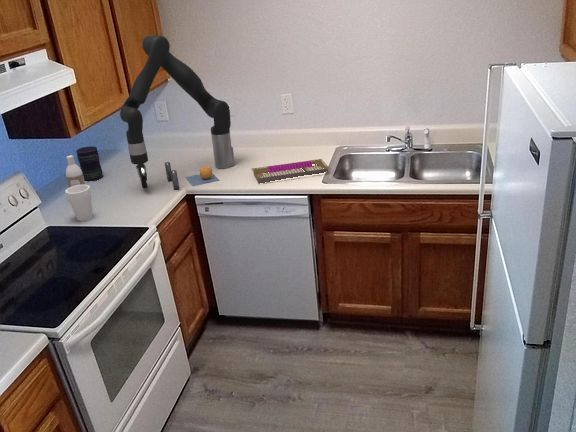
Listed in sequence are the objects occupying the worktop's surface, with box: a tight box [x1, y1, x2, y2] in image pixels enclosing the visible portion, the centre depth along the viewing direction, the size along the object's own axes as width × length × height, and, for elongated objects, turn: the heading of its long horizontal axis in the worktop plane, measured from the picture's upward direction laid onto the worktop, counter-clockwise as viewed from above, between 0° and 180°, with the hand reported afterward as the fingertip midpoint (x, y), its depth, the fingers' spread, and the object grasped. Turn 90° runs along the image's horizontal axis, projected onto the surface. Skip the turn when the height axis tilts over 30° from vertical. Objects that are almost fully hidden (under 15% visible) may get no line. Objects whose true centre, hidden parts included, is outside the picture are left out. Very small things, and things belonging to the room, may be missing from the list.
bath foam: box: [65, 154, 86, 188], centre depth 234 cm, size 7×7×20 cm
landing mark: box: [185, 172, 220, 187], centre depth 250 cm, size 13×13×1 cm
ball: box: [198, 166, 213, 179], centre depth 249 cm, size 6×6×6 cm
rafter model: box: [251, 158, 331, 185], centre depth 247 cm, size 35×14×6 cm, turn 103°
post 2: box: [171, 169, 180, 191], centre depth 238 cm, size 3×3×9 cm
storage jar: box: [75, 145, 104, 182], centre depth 257 cm, size 10×10×15 cm
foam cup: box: [64, 184, 94, 222], centre depth 215 cm, size 10×9×13 cm
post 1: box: [164, 161, 172, 182], centre depth 249 cm, size 3×3×9 cm
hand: (144, 187), depth 240 cm, fingers closed
